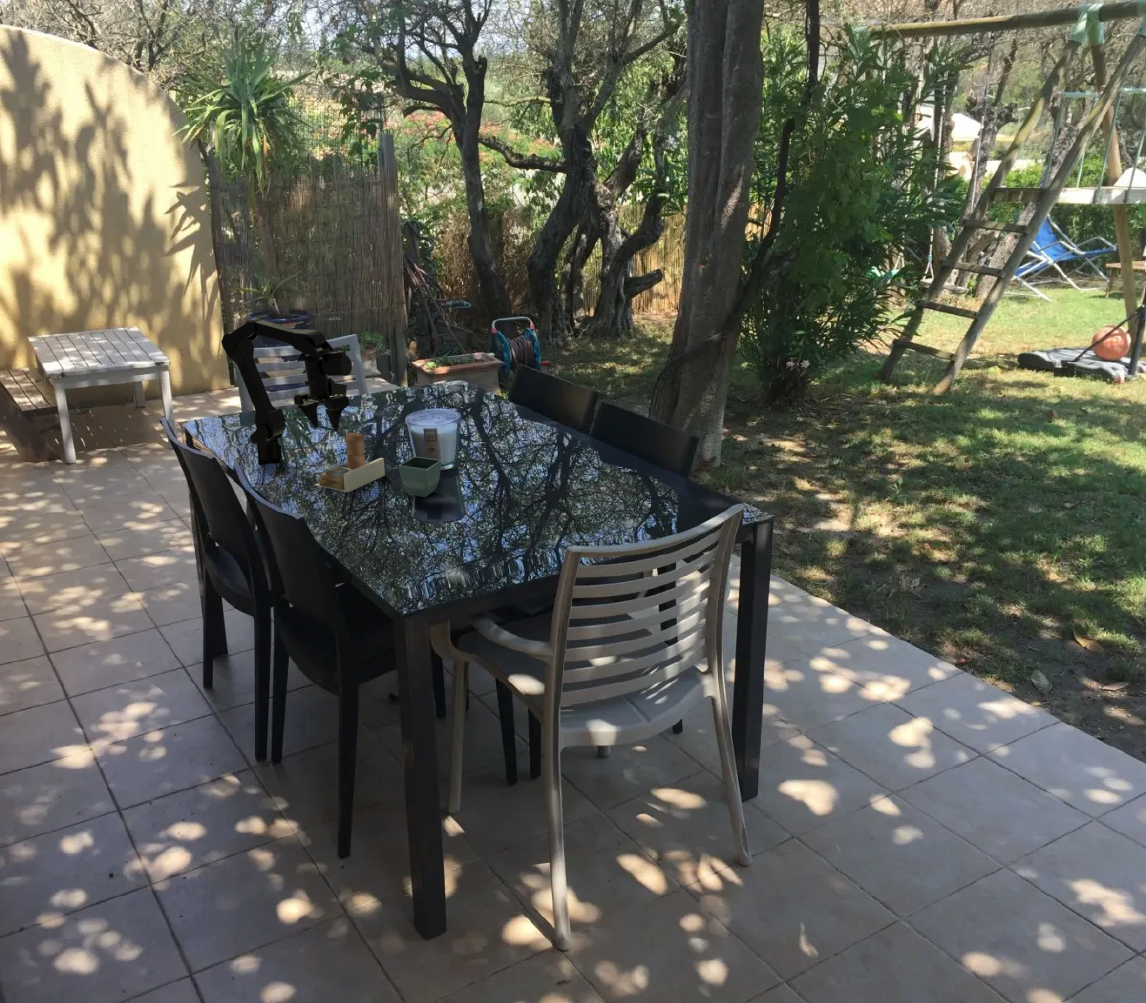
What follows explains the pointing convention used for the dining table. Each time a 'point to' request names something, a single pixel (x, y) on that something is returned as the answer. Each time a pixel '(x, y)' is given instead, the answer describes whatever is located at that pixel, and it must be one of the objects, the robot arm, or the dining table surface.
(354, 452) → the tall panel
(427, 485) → the flower pot
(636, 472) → the dining table surface
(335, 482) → the offcut stack
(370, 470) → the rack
